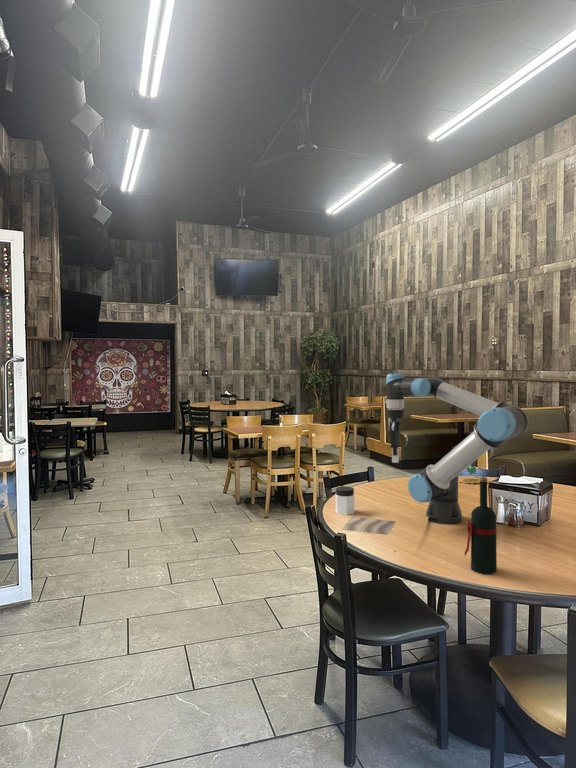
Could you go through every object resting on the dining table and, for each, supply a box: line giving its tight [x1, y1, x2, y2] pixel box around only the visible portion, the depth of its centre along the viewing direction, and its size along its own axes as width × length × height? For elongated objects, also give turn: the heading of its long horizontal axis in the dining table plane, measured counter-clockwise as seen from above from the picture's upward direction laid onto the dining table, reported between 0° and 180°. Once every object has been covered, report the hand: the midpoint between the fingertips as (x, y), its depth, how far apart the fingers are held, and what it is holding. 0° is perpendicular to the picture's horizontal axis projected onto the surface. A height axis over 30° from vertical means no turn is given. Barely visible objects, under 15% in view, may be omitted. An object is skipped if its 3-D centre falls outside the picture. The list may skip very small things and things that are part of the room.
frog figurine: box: [461, 462, 489, 485], centre depth 278 cm, size 10×18×15 cm, turn 80°
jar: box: [334, 485, 355, 516], centre depth 219 cm, size 9×8×12 cm
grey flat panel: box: [361, 518, 397, 536], centre depth 200 cm, size 23×20×1 cm
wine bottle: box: [463, 476, 498, 575], centre depth 157 cm, size 8×10×30 cm
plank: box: [341, 515, 371, 533], centre depth 202 cm, size 8×18×1 cm, turn 158°
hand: (395, 462), depth 214 cm, fingers closed
